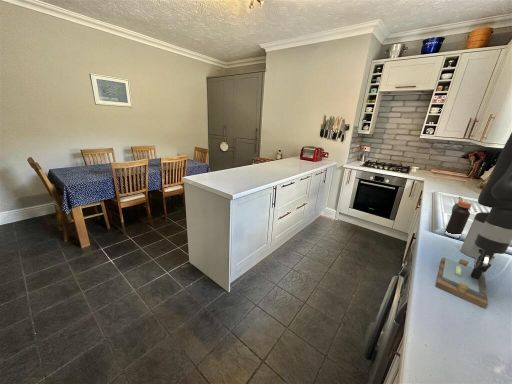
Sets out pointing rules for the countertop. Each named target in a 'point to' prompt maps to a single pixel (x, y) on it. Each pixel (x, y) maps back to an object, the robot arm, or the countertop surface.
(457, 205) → the vegetable
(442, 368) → the countertop surface
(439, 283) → the base
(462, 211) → the bottle
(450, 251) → the countertop surface
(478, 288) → the level plate
